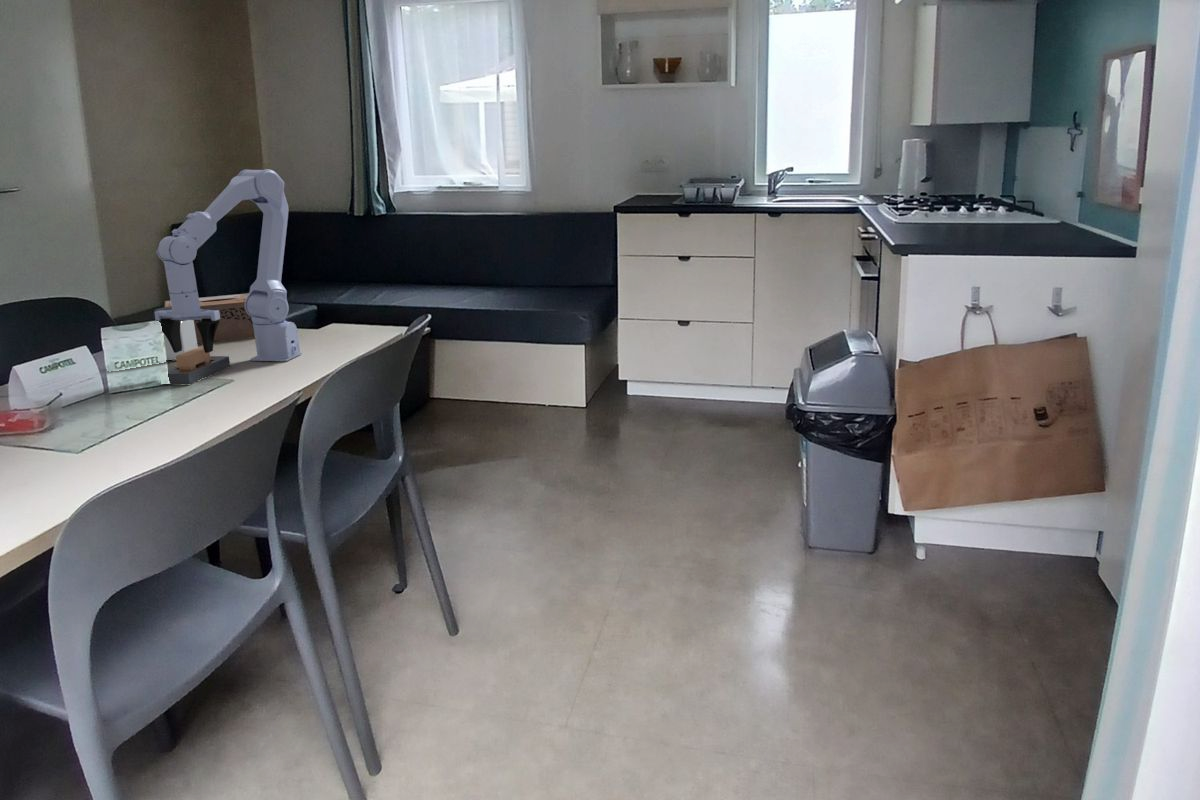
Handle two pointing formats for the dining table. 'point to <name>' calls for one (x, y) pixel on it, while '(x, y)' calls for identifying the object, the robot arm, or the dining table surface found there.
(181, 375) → the grey slotted tray
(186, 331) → the jar
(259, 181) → the robot arm
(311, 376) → the dining table surface
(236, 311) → the tissue box cover
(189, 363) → the tan block
